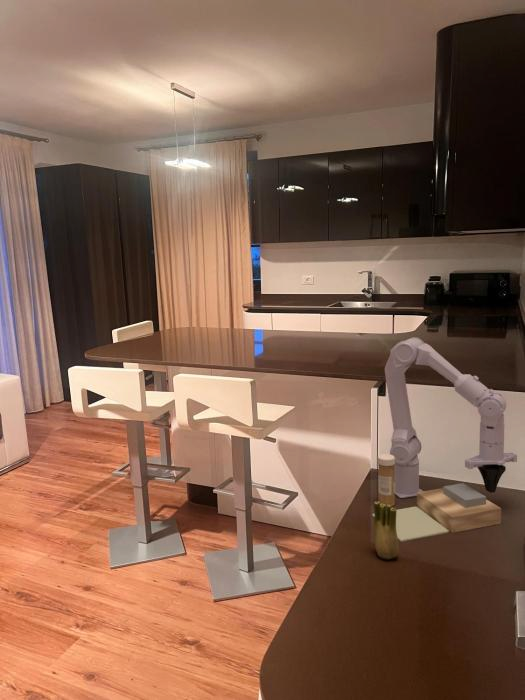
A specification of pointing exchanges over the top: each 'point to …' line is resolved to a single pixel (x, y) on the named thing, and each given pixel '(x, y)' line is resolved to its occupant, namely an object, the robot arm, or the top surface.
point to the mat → (416, 524)
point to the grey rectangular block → (464, 495)
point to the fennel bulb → (385, 531)
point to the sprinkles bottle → (386, 479)
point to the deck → (457, 512)
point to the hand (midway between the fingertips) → (490, 491)
